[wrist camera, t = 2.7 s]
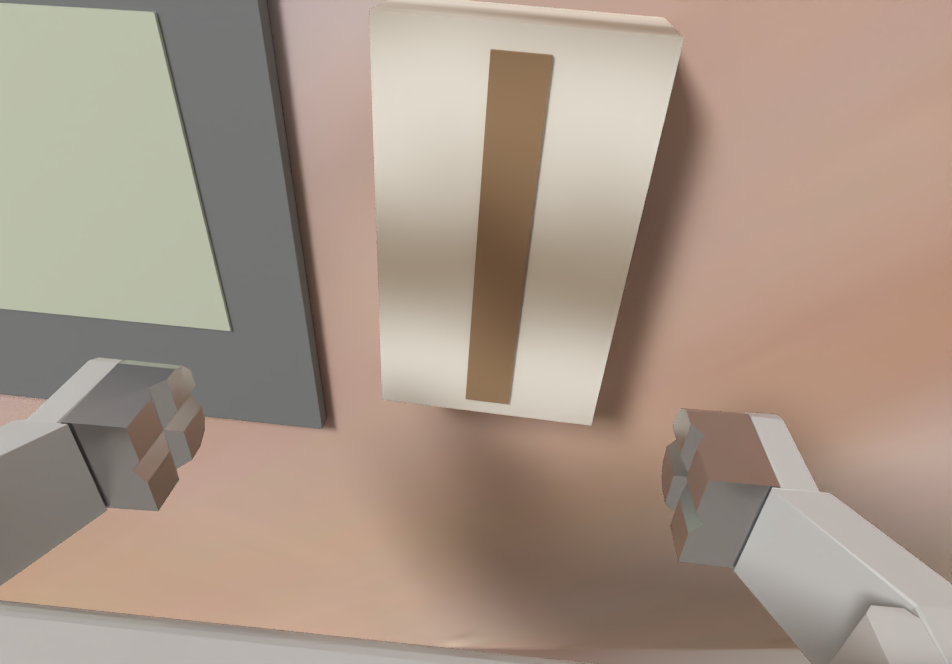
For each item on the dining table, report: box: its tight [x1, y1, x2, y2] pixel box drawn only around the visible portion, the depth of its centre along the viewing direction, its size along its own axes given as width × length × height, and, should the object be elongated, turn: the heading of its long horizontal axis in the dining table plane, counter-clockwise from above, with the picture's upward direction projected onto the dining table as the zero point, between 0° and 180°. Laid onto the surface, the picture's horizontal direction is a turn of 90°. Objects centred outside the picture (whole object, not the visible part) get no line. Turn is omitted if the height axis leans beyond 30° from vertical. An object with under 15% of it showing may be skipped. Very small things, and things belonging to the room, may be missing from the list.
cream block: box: [369, 0, 684, 426], centre depth 15 cm, size 10×6×3 cm, turn 176°
